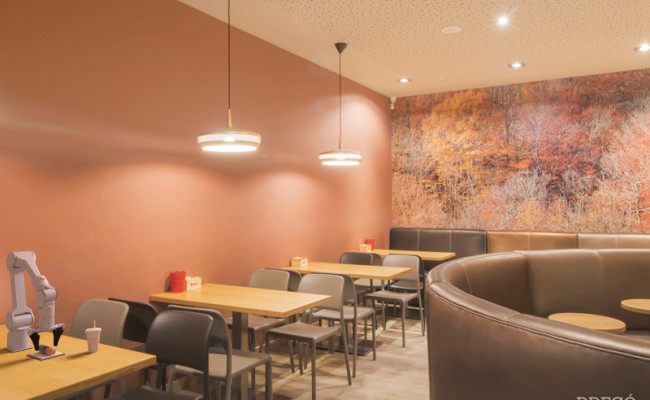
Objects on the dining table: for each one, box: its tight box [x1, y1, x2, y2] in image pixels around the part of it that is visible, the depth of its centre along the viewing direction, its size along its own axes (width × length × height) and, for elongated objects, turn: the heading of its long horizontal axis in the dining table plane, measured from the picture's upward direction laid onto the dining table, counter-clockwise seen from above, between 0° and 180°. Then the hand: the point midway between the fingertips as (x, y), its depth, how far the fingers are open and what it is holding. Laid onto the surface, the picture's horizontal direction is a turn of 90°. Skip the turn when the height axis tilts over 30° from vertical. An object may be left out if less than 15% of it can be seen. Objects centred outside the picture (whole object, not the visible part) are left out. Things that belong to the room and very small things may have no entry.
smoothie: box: [84, 319, 102, 354], centre depth 200 cm, size 6×6×14 cm
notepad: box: [26, 350, 66, 361], centre depth 195 cm, size 13×10×1 cm
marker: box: [39, 344, 57, 355], centre depth 195 cm, size 10×3×3 cm, turn 57°
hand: (46, 348), depth 195 cm, fingers open, 7 cm apart
